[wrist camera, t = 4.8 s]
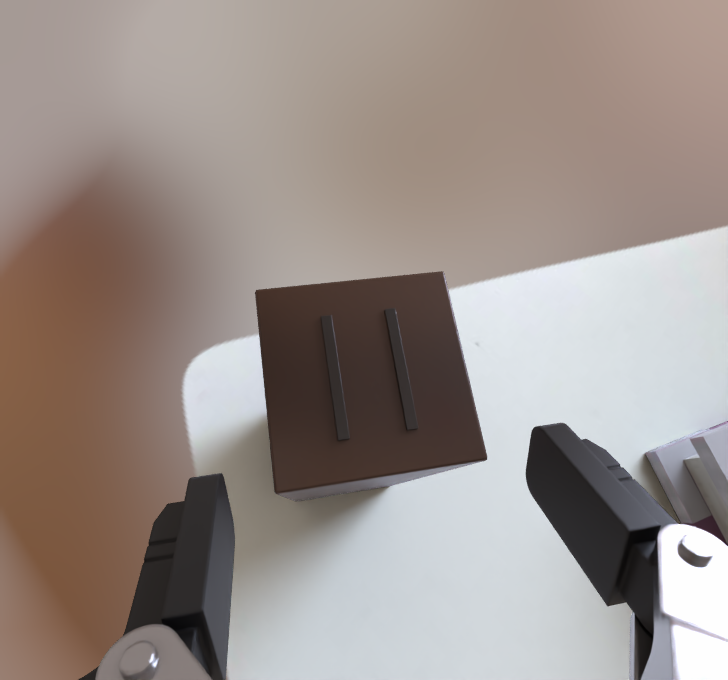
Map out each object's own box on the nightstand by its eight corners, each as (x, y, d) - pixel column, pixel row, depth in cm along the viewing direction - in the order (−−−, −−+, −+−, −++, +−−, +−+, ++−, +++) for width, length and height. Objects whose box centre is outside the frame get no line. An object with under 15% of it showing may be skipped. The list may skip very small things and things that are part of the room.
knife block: (391, 485, 28) (490, 459, 12) (295, 501, 27) (274, 494, 12) (375, 392, 29) (445, 268, 14) (284, 404, 28) (254, 287, 13)
